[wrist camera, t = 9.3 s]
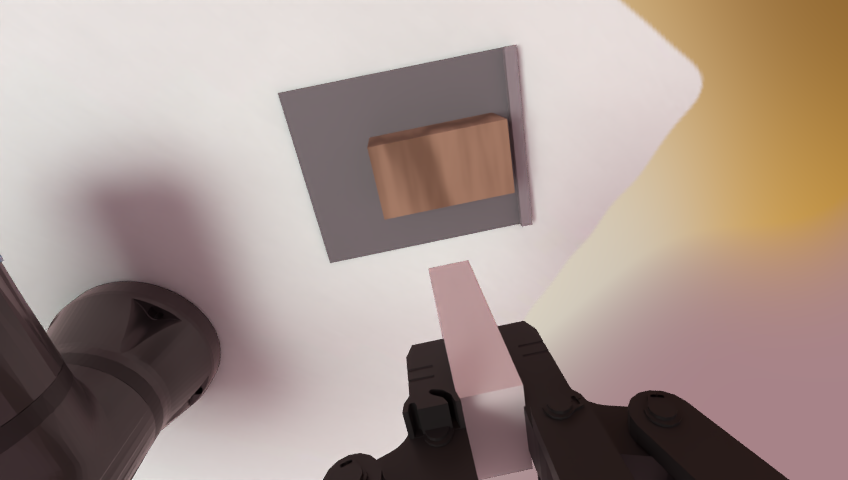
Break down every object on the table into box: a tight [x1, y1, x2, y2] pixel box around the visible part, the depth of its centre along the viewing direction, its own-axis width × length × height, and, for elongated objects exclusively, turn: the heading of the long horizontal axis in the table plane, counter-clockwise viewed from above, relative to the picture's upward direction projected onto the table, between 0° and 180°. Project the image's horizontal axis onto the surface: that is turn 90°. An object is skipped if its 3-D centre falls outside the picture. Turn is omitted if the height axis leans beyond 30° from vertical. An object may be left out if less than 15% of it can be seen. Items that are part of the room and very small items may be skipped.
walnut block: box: [367, 113, 515, 220], centre depth 36 cm, size 5×6×11 cm
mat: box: [278, 45, 532, 263], centre depth 38 cm, size 20×16×1 cm
